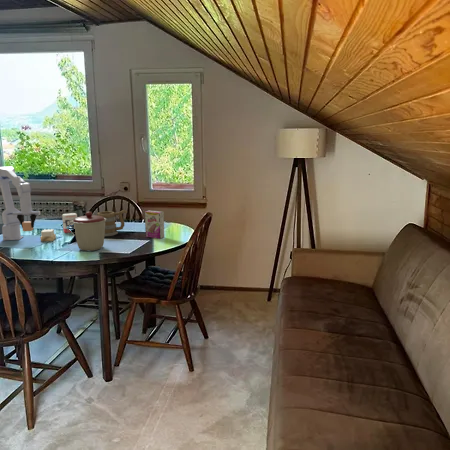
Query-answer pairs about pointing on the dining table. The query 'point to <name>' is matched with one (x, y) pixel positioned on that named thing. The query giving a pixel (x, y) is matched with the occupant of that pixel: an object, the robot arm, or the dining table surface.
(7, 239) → the robot arm
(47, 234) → the off-white slab
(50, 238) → the beech slab
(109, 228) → the tankard
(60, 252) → the dining table surface
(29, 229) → the terracotta block
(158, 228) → the candy bar box
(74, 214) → the ink box
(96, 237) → the canister
